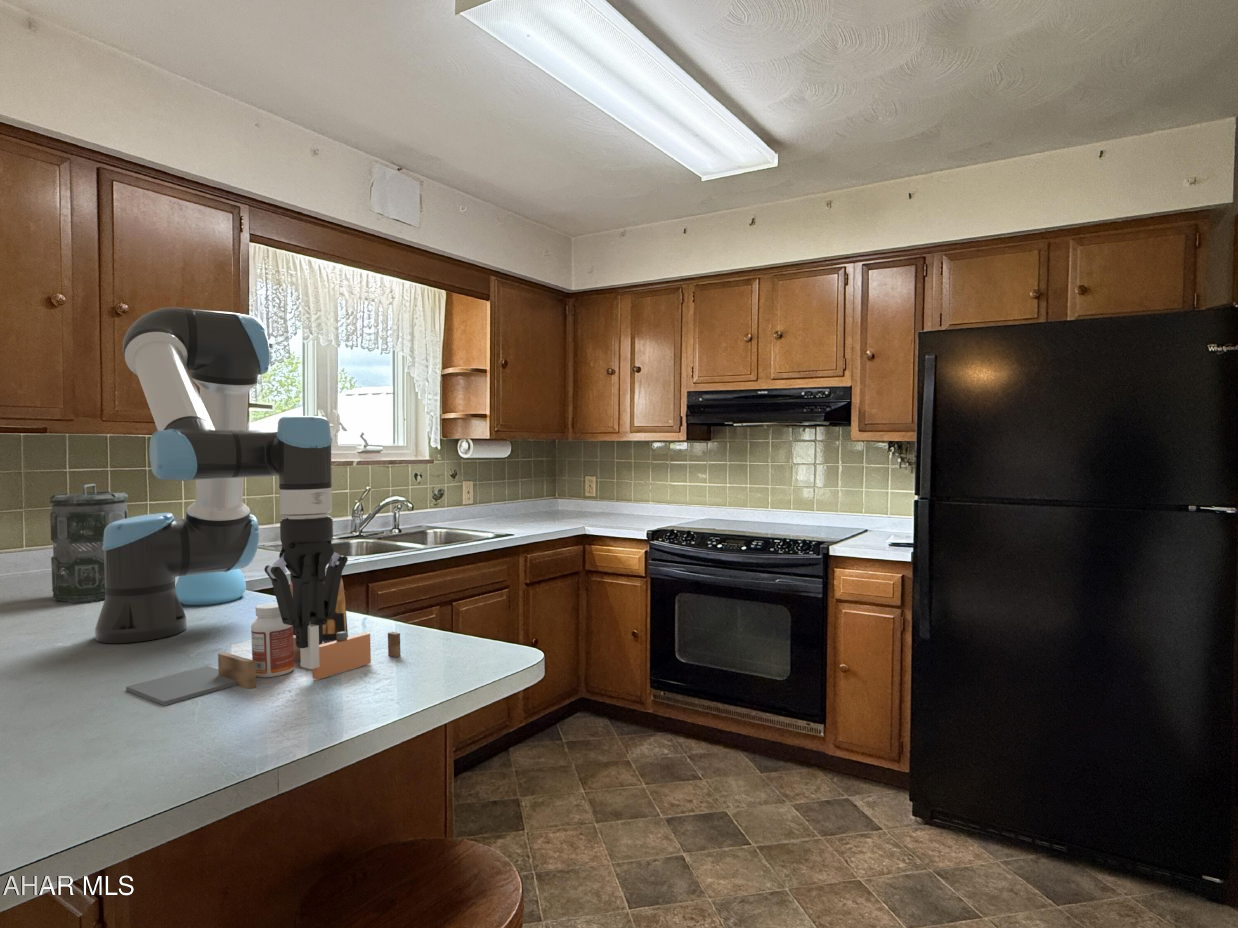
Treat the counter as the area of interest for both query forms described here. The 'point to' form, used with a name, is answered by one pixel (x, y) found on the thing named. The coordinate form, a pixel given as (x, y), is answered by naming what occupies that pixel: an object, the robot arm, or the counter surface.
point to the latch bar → (343, 655)
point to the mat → (182, 685)
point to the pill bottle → (271, 642)
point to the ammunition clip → (334, 617)
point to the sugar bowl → (210, 587)
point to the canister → (82, 542)
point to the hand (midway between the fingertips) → (310, 666)
